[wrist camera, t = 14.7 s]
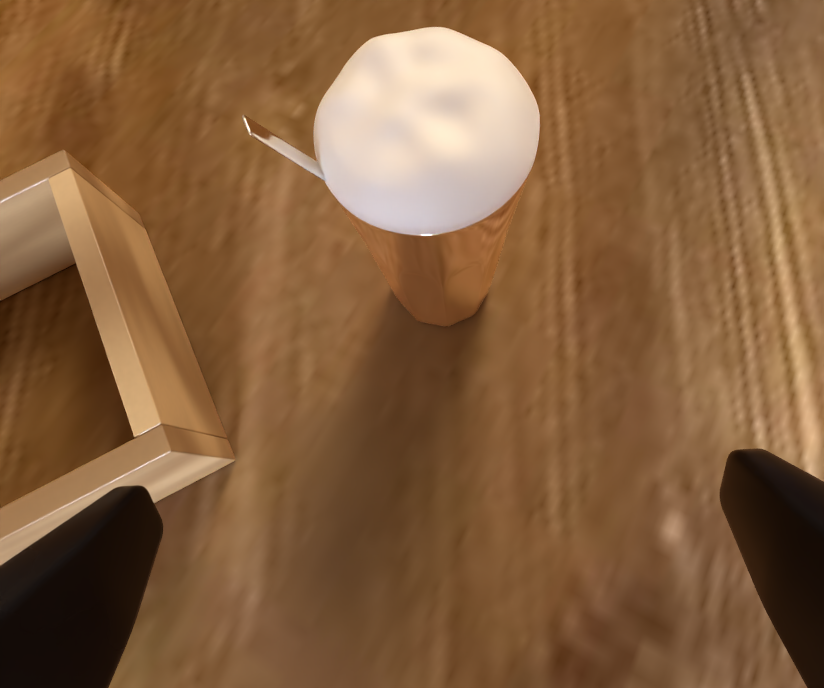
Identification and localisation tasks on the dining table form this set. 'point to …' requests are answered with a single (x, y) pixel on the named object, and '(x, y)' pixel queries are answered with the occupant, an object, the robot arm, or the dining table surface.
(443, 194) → the milkshake
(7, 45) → the dining table surface
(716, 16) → the dining table surface
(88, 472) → the crate
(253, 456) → the dining table surface
